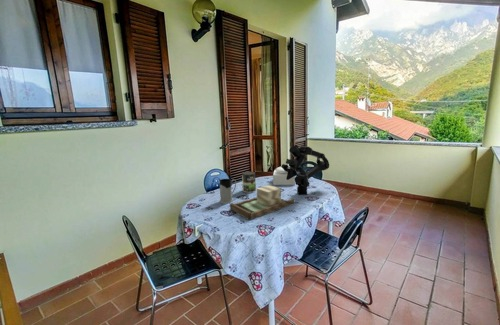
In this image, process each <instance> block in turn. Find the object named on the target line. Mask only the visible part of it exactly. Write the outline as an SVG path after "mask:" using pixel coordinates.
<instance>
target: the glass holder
mask: <svg viewBox="0 0 500 325" xmlns="http://www.w3.org/2000/svg"><path fill="white" fill-rule="evenodd" d="M233 182H234V183H235V184H234V189H233V190H232V185H233ZM236 186H237V180H236V179H232V180H231V178H221V179H219V192H220V195H219V196H220V197H219V198H220V200H219V201H220V202H219V203H221V204H231V203H233V193H234V192H235V190H236Z"/></svg>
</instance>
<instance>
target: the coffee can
mask: <svg viewBox="0 0 500 325" xmlns="http://www.w3.org/2000/svg"><path fill="white" fill-rule="evenodd" d="M241 175H242V176H241V179H242V192H243V193H248V194H249V193H254V192H257V186H256V185H257V184H256V172H255V171H244V172H241Z"/></svg>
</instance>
